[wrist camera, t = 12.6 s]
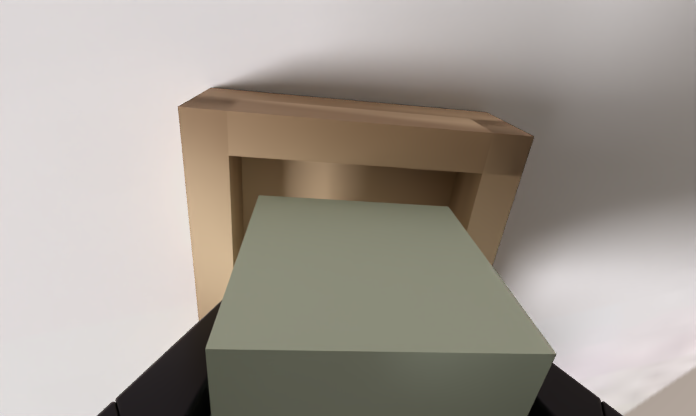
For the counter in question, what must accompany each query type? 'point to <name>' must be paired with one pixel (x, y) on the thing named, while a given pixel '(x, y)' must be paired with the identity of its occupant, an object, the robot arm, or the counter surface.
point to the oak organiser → (337, 166)
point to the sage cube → (369, 318)
